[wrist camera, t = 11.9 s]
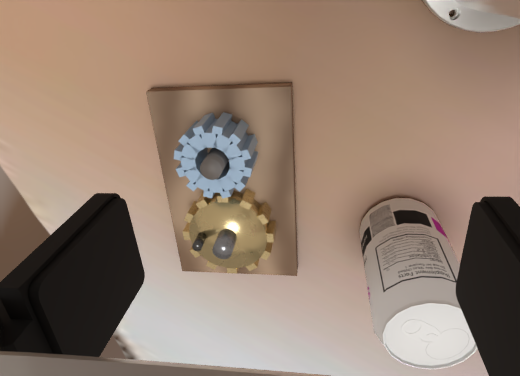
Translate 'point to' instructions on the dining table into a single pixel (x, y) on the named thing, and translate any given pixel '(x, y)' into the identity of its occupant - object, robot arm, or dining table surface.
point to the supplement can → (414, 285)
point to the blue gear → (225, 139)
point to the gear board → (263, 175)
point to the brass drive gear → (230, 230)
